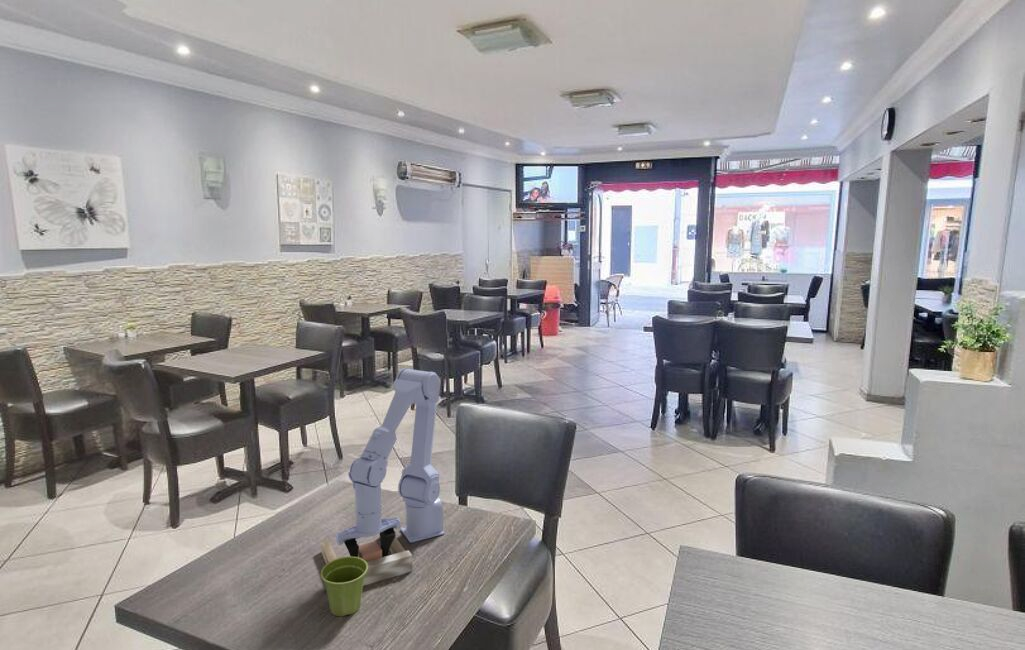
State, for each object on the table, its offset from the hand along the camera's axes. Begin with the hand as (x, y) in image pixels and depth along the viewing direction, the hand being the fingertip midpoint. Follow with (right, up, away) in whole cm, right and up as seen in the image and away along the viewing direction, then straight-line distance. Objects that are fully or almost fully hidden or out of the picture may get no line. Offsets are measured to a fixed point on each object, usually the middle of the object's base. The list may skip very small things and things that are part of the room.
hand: (369, 563), depth 126 cm
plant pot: (-2, -4, -13) cm, 13 cm away
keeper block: (0, -2, 0) cm, 2 cm away
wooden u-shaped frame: (-2, -1, +4) cm, 4 cm away
